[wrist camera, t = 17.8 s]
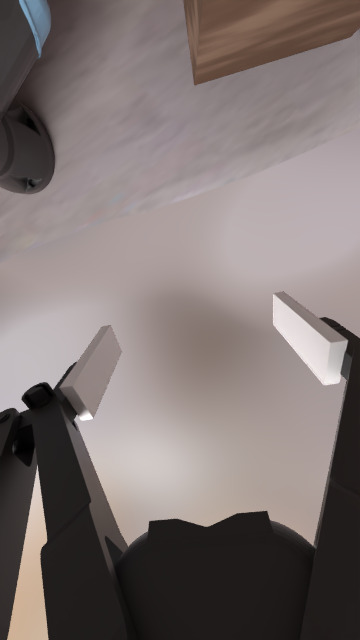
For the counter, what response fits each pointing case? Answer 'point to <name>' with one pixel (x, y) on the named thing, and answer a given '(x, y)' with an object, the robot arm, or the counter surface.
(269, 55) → the walnut shelf
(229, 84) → the counter surface
